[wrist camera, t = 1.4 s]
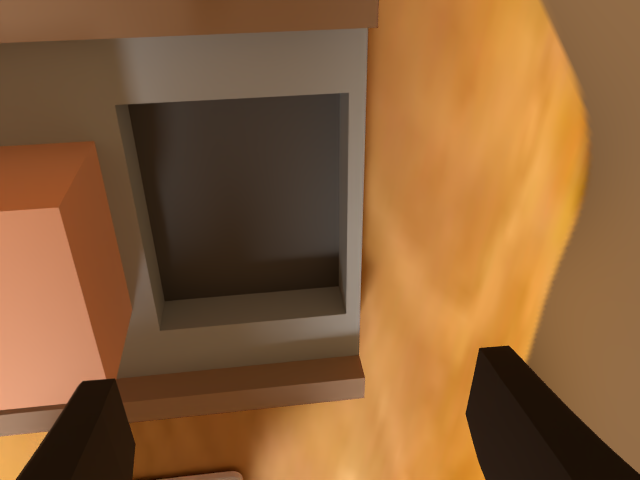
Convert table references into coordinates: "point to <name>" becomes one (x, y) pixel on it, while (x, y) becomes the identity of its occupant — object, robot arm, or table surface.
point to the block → (57, 275)
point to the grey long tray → (211, 186)
